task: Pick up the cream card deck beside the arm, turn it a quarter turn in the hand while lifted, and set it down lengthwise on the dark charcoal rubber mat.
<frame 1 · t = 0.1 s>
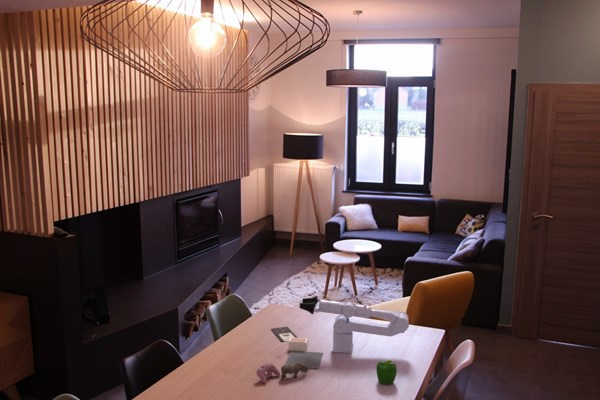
hand: (301, 303, 269), 22 cm above the table, tool horizontal, fingers open, 7 cm apart
card deck: (298, 348, 269), on the table
chocolate bar: (284, 335, 287), on the table
pink gorilla figurine: (268, 379, 238), on the table
charcoal mat: (304, 359, 256), on the table
rhino figurine: (295, 377, 240), on the table
bell pepper: (385, 382, 234), on the table
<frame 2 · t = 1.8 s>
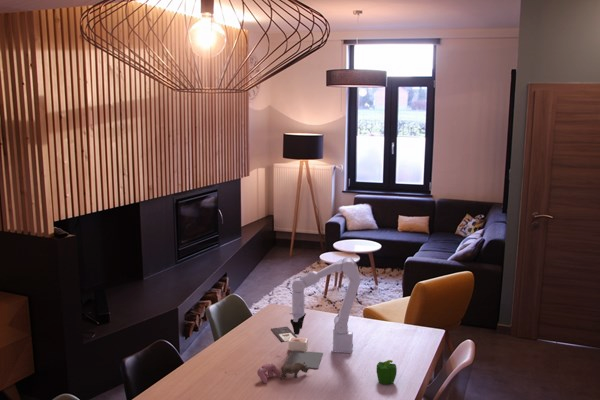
hand: (298, 331, 268), 9 cm above the table, tool pointing down, fingers open, 7 cm apart
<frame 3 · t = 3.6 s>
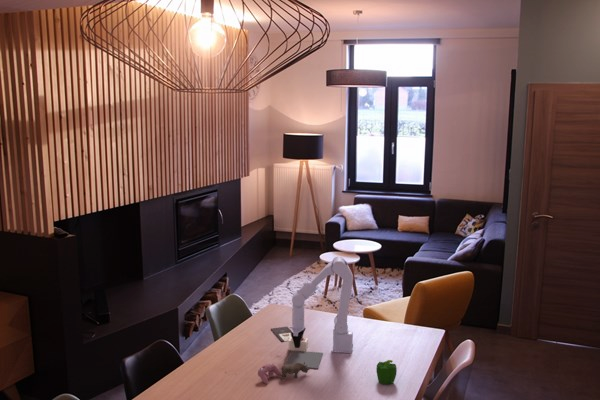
hand: (298, 345, 269), 2 cm above the table, tool pointing down, fingers closed on card deck, 5 cm apart
card deck: (298, 348, 269), on the table, touching gripper
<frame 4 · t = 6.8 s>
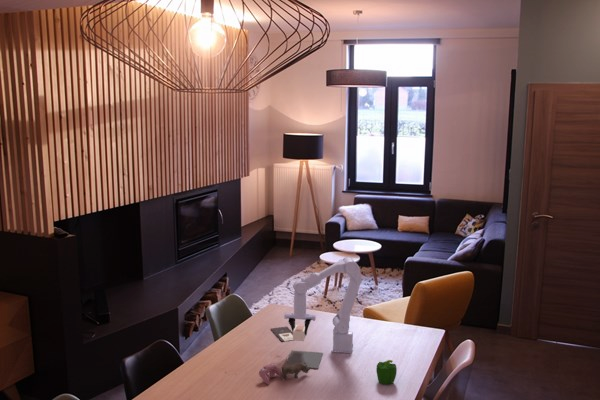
hand: (299, 334, 265), 9 cm above the table, tool pointing down, fingers closed on card deck, 5 cm apart
card deck: (299, 337, 265), point 7 cm above the table, touching gripper
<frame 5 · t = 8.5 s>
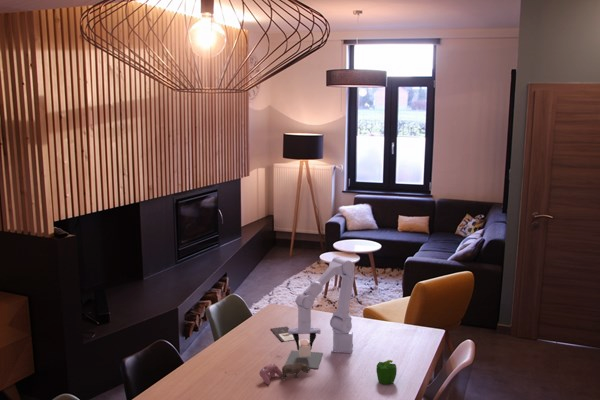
hand: (304, 349, 256), 5 cm above the table, tool pointing down, fingers closed on card deck, 5 cm apart
card deck: (304, 352, 256), point 3 cm above the table, touching gripper
when the fingers open (3 cm above the table, at t = 10.0 s): card deck stays where it is, resting on charcoal mat.
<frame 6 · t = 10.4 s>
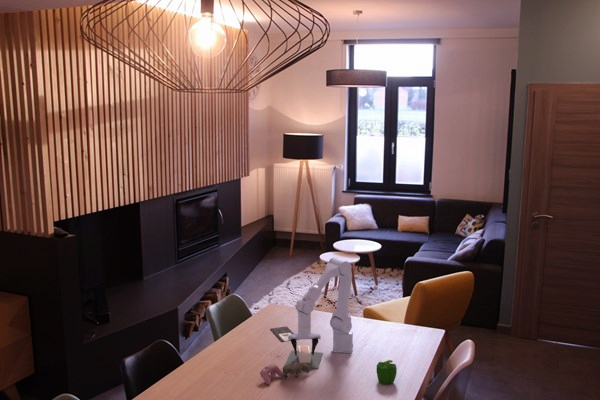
hand: (304, 354, 256), 3 cm above the table, tool pointing down, fingers open, 7 cm apart
card deck: (304, 358, 256), resting on charcoal mat
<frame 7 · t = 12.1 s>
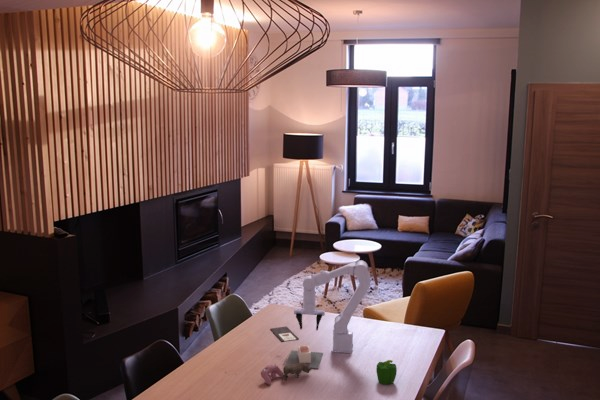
hand: (309, 329, 269), 9 cm above the table, tool pointing down, fingers open, 7 cm apart
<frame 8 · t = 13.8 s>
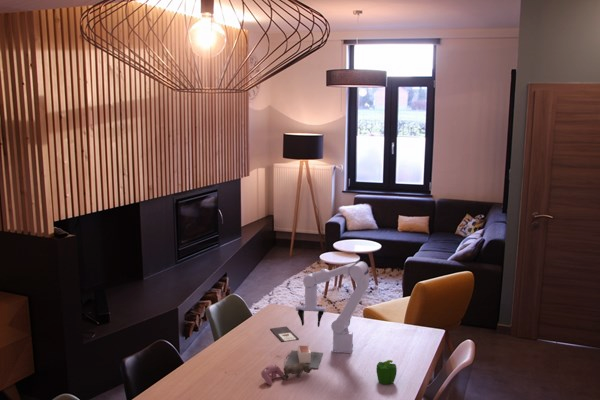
hand: (310, 325, 274), 9 cm above the table, tool pointing down, fingers open, 7 cm apart
at the end: card deck inside the target area on the charcoal mat (0.1 cm from its centre), point 0.5 cm above the charcoal mat's base; card deck tilted 0°; the gripper is holding nothing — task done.
